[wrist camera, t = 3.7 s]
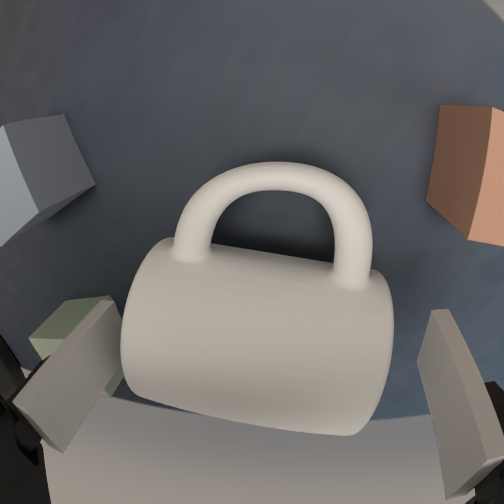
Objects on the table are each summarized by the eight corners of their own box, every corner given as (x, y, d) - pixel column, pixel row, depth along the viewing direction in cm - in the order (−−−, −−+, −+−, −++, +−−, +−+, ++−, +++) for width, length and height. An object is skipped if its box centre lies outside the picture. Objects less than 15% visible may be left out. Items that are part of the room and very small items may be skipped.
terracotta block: (425, 200, 14) (467, 239, 10) (439, 104, 12) (492, 107, 7) (496, 216, 13) (545, 254, 9) (512, 130, 11) (571, 146, 7)
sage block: (94, 349, 23) (64, 390, 19) (66, 300, 21) (28, 338, 17) (140, 350, 22) (110, 397, 17) (110, 294, 20) (71, 339, 15)
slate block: (51, 216, 18) (0, 246, 14) (23, 154, 16) (-31, 173, 12) (96, 183, 17) (39, 212, 12) (64, 113, 15) (3, 124, 10)
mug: (336, 355, 19) (340, 464, 12) (185, 329, 20) (136, 425, 13) (390, 167, 14) (464, 225, 7) (187, 138, 15) (89, 169, 8)
